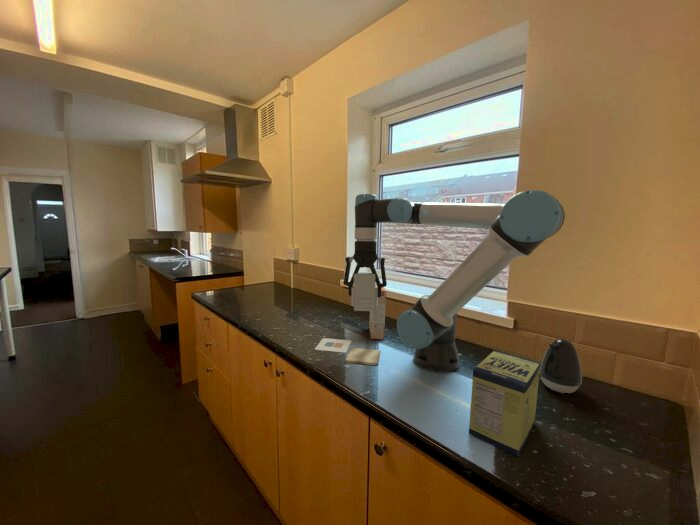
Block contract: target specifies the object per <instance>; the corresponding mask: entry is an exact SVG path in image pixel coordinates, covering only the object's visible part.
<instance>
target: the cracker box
mask: <svg viewBox="0 0 700 525" xmlns="http://www.w3.org/2000/svg"><path fill="white" fill-rule="evenodd" d="M376 287H377V285H376V284H375V288H376ZM386 304H387V289H386V287H382V288H381V297H378V307H375V311H369V321H368V322H369V323H368V324H369V325H368V326H369V329H368V330H369V335H370V339H371V340H385V326H386V325H385V323H386V322H385V321H386Z"/></svg>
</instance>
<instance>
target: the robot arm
mask: <svg viewBox="0 0 700 525" xmlns="http://www.w3.org/2000/svg"><path fill="white" fill-rule="evenodd" d="M565 217H566V215H565V209H564V207H563V205H562V204H561V202H560V201H559V200H558V198H556V197H555V196H554V195H553V194H550V193H548V192H547V191H543V190H539V189H528V190H524V191H520V192H517V193H516V194H515V195H512V196H511V197H510V198H509V199H508V200H507V201H506V202H505V203H475V202H474V203H469V202H468V203H467V202H464V203H463V202H421V201H420V202H419V201H417V202H416V201H415V202H414V201H413V202H412V201H409V199H408V198H405V197H403V198H401V197H395V198H387V199H378V196H377V194H374V193H373V194H371V193H361V194H357V195H356V196H355V201H354V239H355V241H354V252H353V255H351V256H346V257H345V263H346V265H345V270H344V276H343V283H342V284H343V285H344V286H347V287H348V297H351V304H350V306H351V307H354V274H357V273H358V272H360V269H361V268H367V269H368V268H369V270H370V272H372V274H375V285H377V287H376V288H375V307H378V297H381V288H382V287H384V288H386V287H387V285H388V283H387V282H388V281H387V275H386V269H385V268H386V267H385V262H386V258H385V257H381V256H378V254H377V245H378V244H377V241H376V240H377V238H378V237H377V236H378V234H377V233H378V232H377V230H378V228H377V227H378V226H377V225H378V223H379V224H380V223H381V224H382V223H383V224H385V223H388V224H390V223H391V224H393V223H394V224H408V225H422V226H423V225H425V226H426V225H427V226H437V227H439V226H441V227H449V228H450V227H453V228H463V229H464V228H465V229H467V228H470V229H479V230H482V229H483V230H488V231H489V232H488V235H487V236H486V237H485V238H484V239H483V240H482V241H481V242H480V244H478V246H477V247H476V248H475V249H474V250H473V251H472V252H471V253H470V254H469V255H468V256H467V257H466V258H465V259H464V260H463V261H462V262H461V263H460V264H459V265H457V267H456V268H455V269H454V270H453V271H452V272H451V273H450V274H449V276H448V277H446V279H444V281H442V283H440V284H439V286H438V287H437V288H436V289H435V290H434V291H433V292H432V293H431V294H424V295H422V296H421V297H419V299H418V300H417V301H416V302H415V303H414V304H413V305H412V306H411V307H410V308H409V309H406V310H403V312H401V314H400V315H398V318H397V320H396V328H397V329H396V330H397V334H398V337H399V338H400V339H401V341H402V342H403V343H404V344H405V345H407V347H410V348H412V349H415V350H414V352H413V361H415V362H414V363H415V364H416V365H417V364H418V365H417V366H419V367H420V366H421V367H420V368H422V367H423V369H426V370H429V371H432V370H433V371H432V372H437V371H449V372H453V371H452V370H454V371H455V369H456V370H458V369H459V367H460V356H459V353H458V349H457V345H456V334H457V318H458V312H459V311H460V310H462V309H463V308H464V307H465V306H466V305H467V304H468V303H469V302H470V301H471V300H472V299H473V298H475V297H476V296H477V294H479V293H480V292H481V291H482V290H483V289H484V288H485V287H486V286H487V285H488V284H490V283H491V282H492V281H493V280H494V279H495V278H496V277H498V275H500V273H501V272H503V271H504V270H505V269H506V268H507V267H509V265H510V264H511V263H513V261H515V259H516V258H521V257H528V256H530V255H531V253H533V252H534V251H535V250H536V249H537V248H538V247H540V246H541V244H543V243H544V242H545V241H546V240H547V239H548V238H551V237H553V236H554V235H556V234H557V233H558V232H559V231H560V230H561V229H562V227H563V225H564V223H565ZM353 260H354V261H355V263H356V265H355V269H354V271H353V273H352V276H351V278H350V272H351V267H352V262H353ZM377 261H378V264H380V265H379V266H380V272H381V273H380V276H381V280H382V281H381V280H380V278H379V275H378V273H377V270H376V267H375V265H374V264H375V263H376V262H377ZM349 279H350V280H349ZM381 282H382V283H381ZM458 366H459V367H458Z"/></svg>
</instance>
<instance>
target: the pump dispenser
mask: <svg viewBox="0 0 700 525" xmlns="http://www.w3.org/2000/svg"><path fill="white" fill-rule="evenodd" d="M582 374H583V373H582V365H581V360H580V356H579V354H578V350H577V348H576V347H575V345H574V344H573V342H571V341H570V340H569V339H566V338H557V339H554V340H553V341H552V342H551V343H550V344H549V345H548V347H547V349H546V351H545V352H544V355H543V356H542V359H541V362H540V372H539V376H540V378H541V381H542V383H543V384H544V385H545V386H546V387H547V388H548V389H549V388H550V389H549V390H551V391H554V392H555V391H556V393H558V392H559V394H564V393H568V394H572V393H575V392H576V391H577V390H578V389H579V388H580V386H581V385H582V383H583V382H582V381H583V376H582Z"/></svg>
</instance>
